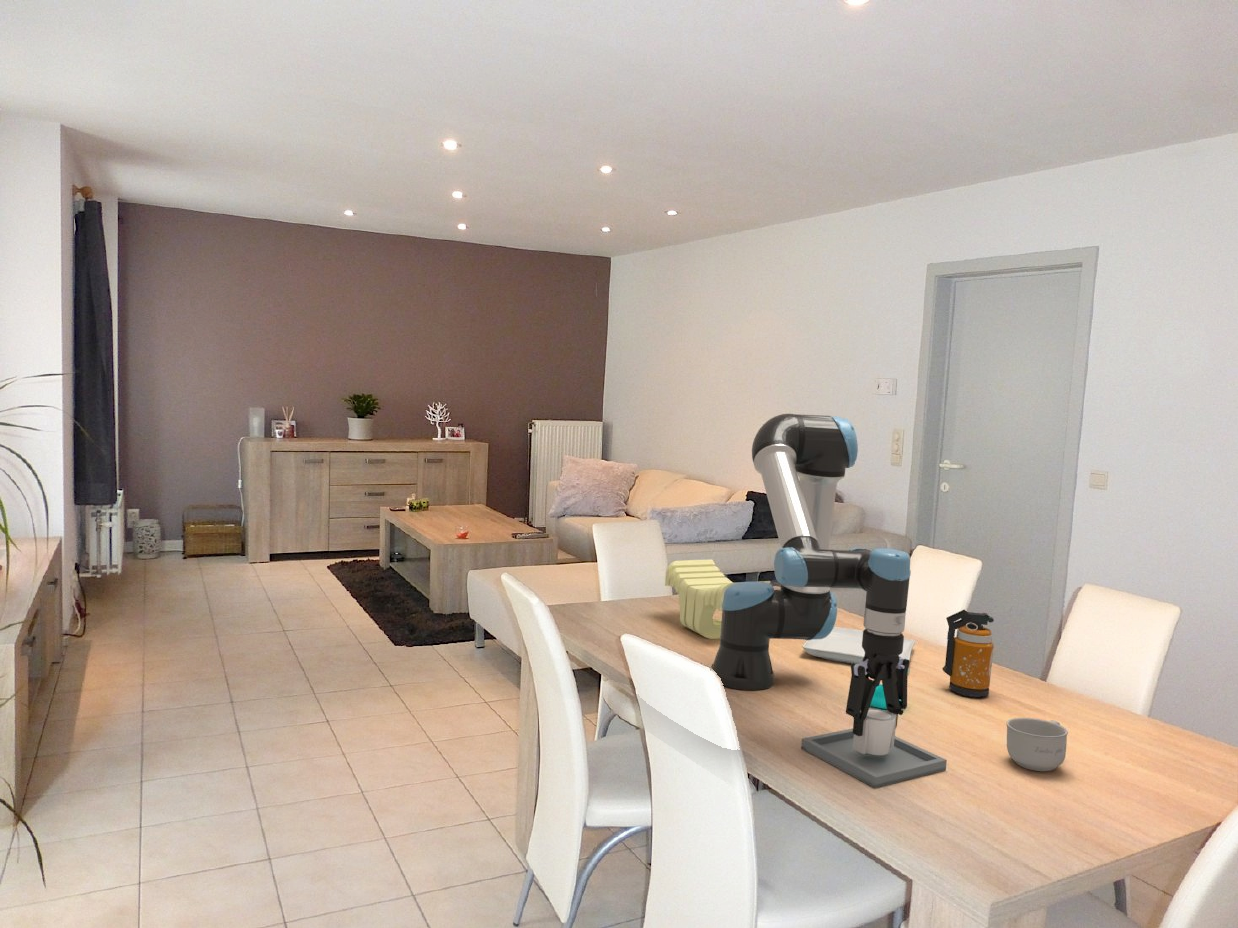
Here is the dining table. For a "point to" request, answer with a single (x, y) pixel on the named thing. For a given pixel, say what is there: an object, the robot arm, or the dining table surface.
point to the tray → (874, 759)
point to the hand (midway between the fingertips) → (873, 747)
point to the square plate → (846, 646)
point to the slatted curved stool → (699, 594)
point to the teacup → (1036, 743)
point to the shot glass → (879, 731)
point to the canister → (969, 653)
